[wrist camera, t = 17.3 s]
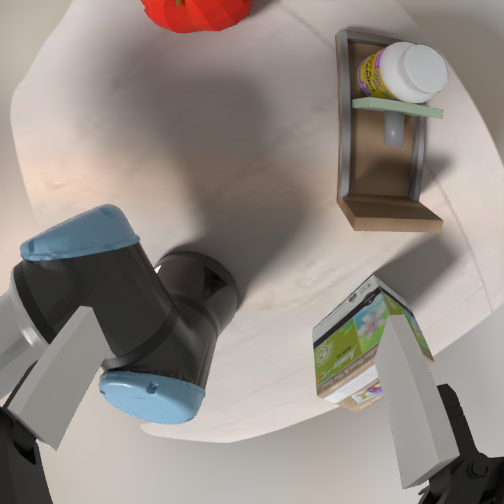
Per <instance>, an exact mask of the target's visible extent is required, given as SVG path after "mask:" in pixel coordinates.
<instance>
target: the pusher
mask: <svg viewBox="0 0 504 504" xmlns="http://www.w3.org/2000/svg"><path fill="white" fill-rule="evenodd" d="M350 108H358V109H368V110H377V111H384V144H387V145H392V146H400V147H403V142H404V114H405V115H411V116H421V117H431V118H439V119H443V110H440V109H436V108H432V107H427V106H422V105H417V104H412V103H406V102H400V101H394V100H388V99H381V98H373V97H366V98H360V99H354V100H350Z"/></svg>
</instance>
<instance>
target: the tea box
mask: <svg viewBox="0 0 504 504" xmlns="http://www.w3.org/2000/svg"><path fill="white" fill-rule="evenodd" d="M403 314H404V315H405V317H406V319H407V321H408V323H409V325H410V327H411V329H412V331H413V333H414V336H415V338H416V340H417V342H418V344H419V346H420V349H421V351H422V353H423V355H424V358H425V360H426V362H427V365H428V366H429V365H430V364H432V363H433V362H434V360H433V357H432V354H431V352H430V350H429V347H428V345H427V343H426V340H425V338H424V336H423V334H422V332H421V330H420V327H419V325H418V323H417V321H416V319H415V317H414V315H413V313H412V311H411V309H410V307H409V305H408V303H407V301H406V300H404V299H403V298H402V297H401V296H399V295H398V294H397V293H396V292H394V291H393V290H392V289H391V288H390V287H388V286H387V285H386V284H385V283H384V282H382V281H381V280H380V279H379V278H377V277H376V276H375V275H374V274H373V275H372V276H371V277H370V278H369V279H368V280H367V281H366V282H364V283H363V284H362V285H361V286H360V287H359V288H358V289H357V290H356V291H355V292H354V293H353V294H352V295H351V296H350V297H349V298H348V299H346V300H345V302H343V303H342V304H341V305H340V306H339V307H338V308H336V309H335V310H334V311H333V312H332V313H331V314H330V315H329V316H328V317H327V318H325V319H324V320H323V321H322V322H321V323H320V324H319V325H317V326H316V327H315V328H314V329H313V330H312V334H313V348H314V359H315V373H316V389H317V397H320V398H322V399H325V400H327V401H329V402H332V403H335V404H337V405H340V406H342V407H345V408H347V409H350V410H353V411H355V412H360V411H362V410H364V409H365V408H367V407H369V406H370V405H372V404H374V403H375V402H377V401H378V400H380V399H382V398H383V397H384V396H383V392H382V388H381V385H380V381H379V377H378V374H377V370H376V366H375V363H374V358H375V355H376V352H377V349H378V346H379V343H380V340H381V337H382V334H383V331H384V328H385V325H386V321H387V318H388V316H389V315H403Z"/></svg>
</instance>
